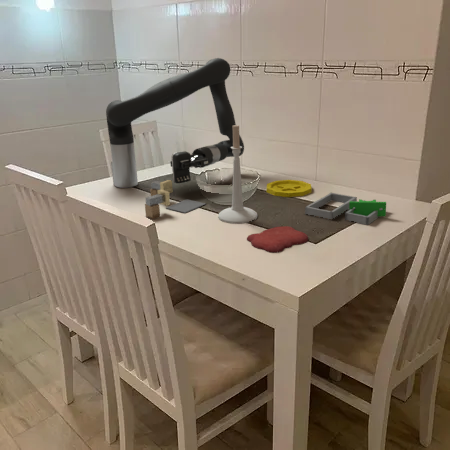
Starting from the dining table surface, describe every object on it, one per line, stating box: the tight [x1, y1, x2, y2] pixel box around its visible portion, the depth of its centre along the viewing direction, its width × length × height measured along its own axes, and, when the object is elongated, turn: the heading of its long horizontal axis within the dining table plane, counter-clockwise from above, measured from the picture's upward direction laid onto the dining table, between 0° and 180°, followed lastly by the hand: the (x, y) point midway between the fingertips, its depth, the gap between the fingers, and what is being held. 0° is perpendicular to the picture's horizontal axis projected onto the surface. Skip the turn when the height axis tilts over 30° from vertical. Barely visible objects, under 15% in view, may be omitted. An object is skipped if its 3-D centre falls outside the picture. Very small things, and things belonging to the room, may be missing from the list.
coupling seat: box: [165, 199, 207, 214], centre depth 167 cm, size 9×11×1 cm
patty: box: [246, 225, 309, 254], centre depth 138 cm, size 18×14×2 cm
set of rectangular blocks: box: [144, 179, 173, 220], centre depth 166 cm, size 8×23×8 cm, turn 2°
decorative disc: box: [265, 179, 313, 198], centre depth 182 cm, size 17×18×2 cm
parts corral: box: [304, 192, 383, 226], centre depth 157 cm, size 21×19×2 cm
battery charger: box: [171, 150, 192, 184], centre depth 178 cm, size 7×4×11 cm, turn 126°
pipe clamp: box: [348, 199, 387, 217], centre depth 153 cm, size 11×4×5 cm, turn 76°
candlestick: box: [217, 124, 258, 225], centre depth 151 cm, size 13×13×30 cm
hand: (176, 165), depth 175 cm, fingers closed on battery charger, 5 cm apart
